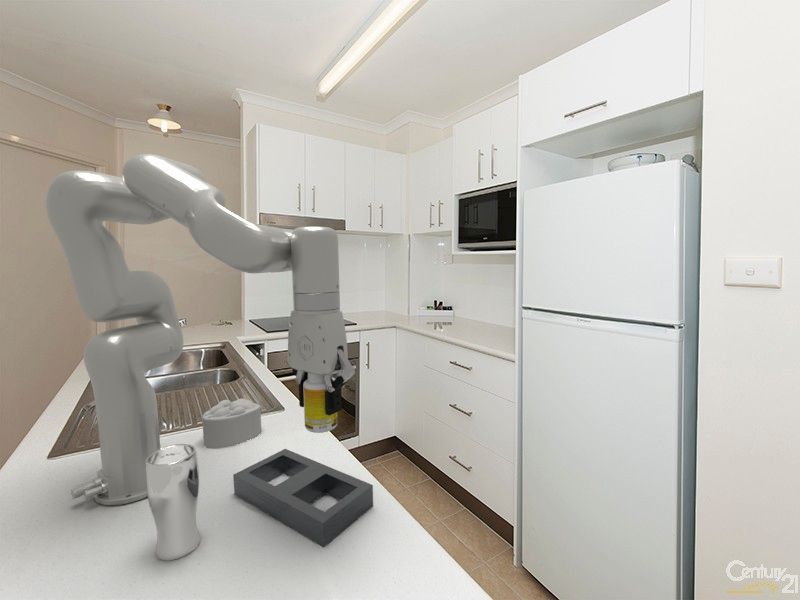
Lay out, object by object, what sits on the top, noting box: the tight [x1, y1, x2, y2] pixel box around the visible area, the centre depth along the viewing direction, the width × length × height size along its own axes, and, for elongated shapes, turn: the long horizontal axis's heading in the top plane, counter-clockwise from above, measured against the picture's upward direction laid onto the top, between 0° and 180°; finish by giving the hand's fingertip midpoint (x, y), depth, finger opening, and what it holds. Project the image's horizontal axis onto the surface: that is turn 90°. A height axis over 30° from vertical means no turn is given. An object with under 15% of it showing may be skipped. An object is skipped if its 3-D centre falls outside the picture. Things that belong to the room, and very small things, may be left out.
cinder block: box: [233, 448, 374, 548], centre depth 71 cm, size 12×24×4 cm, turn 55°
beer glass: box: [146, 443, 201, 562], centre depth 59 cm, size 7×7×15 cm
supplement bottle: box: [303, 373, 339, 434], centre depth 66 cm, size 6×6×10 cm
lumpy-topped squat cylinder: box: [201, 397, 263, 449], centre depth 97 cm, size 10×13×9 cm
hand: (320, 407), depth 66 cm, fingers closed on supplement bottle, 5 cm apart
